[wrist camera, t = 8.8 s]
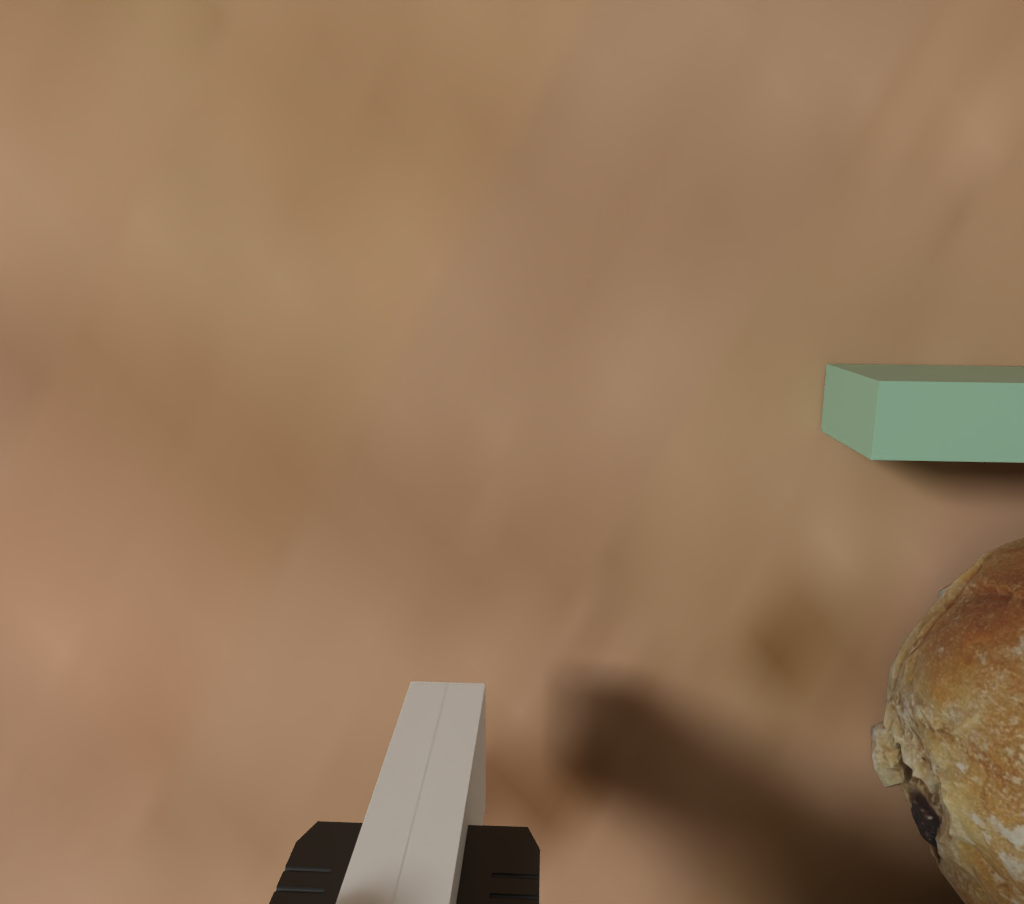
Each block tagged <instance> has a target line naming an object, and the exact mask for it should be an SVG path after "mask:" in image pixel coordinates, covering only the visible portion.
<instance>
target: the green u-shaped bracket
mask: <svg viewBox="0 0 1024 904" xmlns="http://www.w3.org/2000/svg"><path fill="white" fill-rule="evenodd" d="M821 431H822V432H824V433H826V434H827V435H829V436H831V437H833V438H834V439H836V440H838V441H839V442H841V443H843V444H845V445H846V446H848V447H850V448H851V449H853V450H855V451H857V452H858V453H860V454H862V455H863V456H865V457H867V458H869V459H870V460H906V461H961V462H1016V463H1024V367H1022V366H948V365H874V364H827V366H826V377H825V388H824V400H823V411H822V423H821Z"/></svg>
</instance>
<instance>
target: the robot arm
mask: <svg viewBox="0 0 1024 904" xmlns="http://www.w3.org/2000/svg"><path fill="white" fill-rule="evenodd" d="M485 805H486V740H485V684H484V683H450V682H416V681H411V682H410V685H409V688H408V691H407V694H406V697H405V700H404V703H403V706H402V709H401V712H400V715H399V718H398V721H397V724H396V727H395V730H394V733H393V735H392V738H391V741H390V744H389V747H388V750H387V753H386V756H385V759H384V762H383V765H382V768H381V771H380V774H379V777H378V780H377V783H376V786H375V789H374V792H373V795H372V798H371V801H370V803H369V806H368V809H367V812H366V815H365V818H364V821H363V823H346V822H320V821H318V822H317V823H316V824H315V825H314V826H313V827H311V828H310V829H309V830H308V831H307V832H306V833H305V834H304V835H303V836H302V837H301V838H300V839H299V840H298V841H297V842H296V844H295V846H294V848H293V851H292V853H291V855H290V858H289V860H288V862H287V864H286V868H285V871H283V873H282V876H281V878H280V880H279V883H278V885H277V889H276V892H274V894H273V896H272V898H271V901H270V903H269V904H539V871H540V849H539V847H538V845H537V843H536V841H535V840H534V838H533V836H532V834H531V832H530V830H529V828H528V827H509V826H483V821H484V813H485Z"/></svg>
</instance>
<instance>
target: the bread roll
mask: <svg viewBox="0 0 1024 904" xmlns="http://www.w3.org/2000/svg"><path fill="white" fill-rule="evenodd" d="M886 702H887V704H886V711H885V716H884V720H883V721H882V722H881V723H879V724H877V725H876V726H873V727H872V728H871V743H872V760H873V765H874V769H875V771H876V773H877V774H878V776H879V778H880V780H881V782H882V783H883V785H884V787H885V788H886V787H890V786H893V785H896V784H901V787H902V789H903V792H904V794H905V797H906V799H907V801H908V803H909V804H910V806H911V811H912V815H913V818H914V820H915V822H916V824H917V826H918V829H919V831H920V834H921V835H922V837H923V838H924V839H925V840H926V841H928V842H929V843H930V851H931V854H932V856H933V857H934V859H935V860H936V862H937V866H938V867H939V869H940V871H941V872H942V874H943V875H944V876H945V878H946V879H947V880H948V882H949V883H950V884H951V886H952V887H953V889H954V890H955V891H956V893H957V894H958V895H959V897H960V898H961V899H962V901H963V902H964V903H965V904H1024V538H1022V539H1019V540H1016V541H1013V542H1010V543H1007V544H1005V545H1003V546H1000V547H998V548H996V549H993V550H991V551H988V552H986V553H984V554H982V555H981V556H980V557H978V559H977V561H976V563H975V565H973V566H972V567H971V568H970V569H969V570H968V571H966V572H964V573H962V574H961V575H960V576H959V578H957V579H955V580H954V582H953V583H952V584H950V585H949V586H947V587H945V588H944V589H942V590H940V591H939V595H938V598H937V599H936V601H935V602H934V604H933V605H932V607H931V608H930V610H929V611H928V613H927V614H926V616H925V617H924V618H923V619H922V620H921V621H920V622H919V623H918V624H917V625H916V627H915V628H914V629H913V631H912V632H911V633H910V635H909V636H908V638H907V639H906V640H905V642H904V643H903V645H902V647H901V649H900V651H899V652H898V654H897V656H896V658H895V660H894V661H893V663H892V665H891V667H890V670H889V677H888V684H887V697H886Z"/></svg>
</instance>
